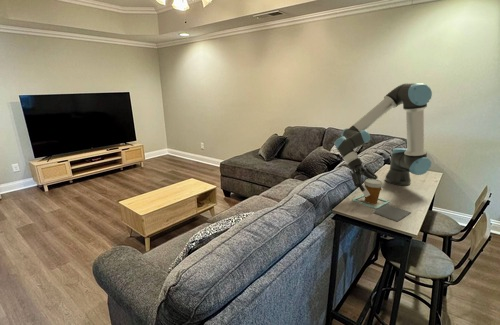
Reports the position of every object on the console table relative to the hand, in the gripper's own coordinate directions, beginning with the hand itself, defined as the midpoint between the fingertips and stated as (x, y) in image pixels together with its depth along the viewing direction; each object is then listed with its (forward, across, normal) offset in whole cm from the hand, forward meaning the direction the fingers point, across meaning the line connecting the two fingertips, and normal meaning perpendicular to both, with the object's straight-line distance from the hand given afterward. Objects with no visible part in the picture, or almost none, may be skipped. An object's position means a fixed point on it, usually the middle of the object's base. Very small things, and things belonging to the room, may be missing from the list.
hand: (374, 193), depth 145 cm
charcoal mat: (+13, +5, +5) cm, 14 cm away
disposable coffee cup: (+3, 0, -5) cm, 6 cm away
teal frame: (+3, 0, -5) cm, 6 cm away
